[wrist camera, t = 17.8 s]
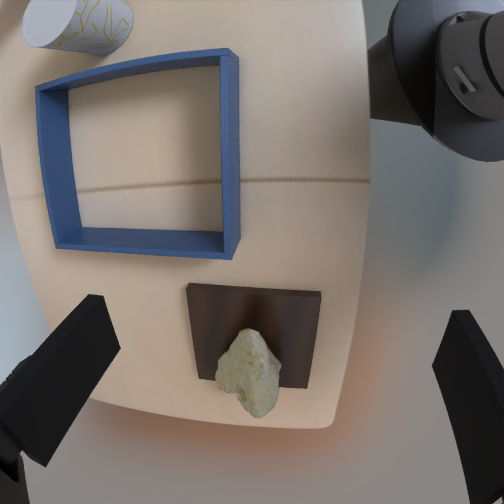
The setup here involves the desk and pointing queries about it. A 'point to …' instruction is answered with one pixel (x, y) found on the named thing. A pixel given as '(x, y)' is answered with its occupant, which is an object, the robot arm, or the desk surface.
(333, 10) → the desk surface
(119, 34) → the white cylinder
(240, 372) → the pale grey rough stone
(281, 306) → the board
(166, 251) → the blue rectangular frame
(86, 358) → the robot arm
